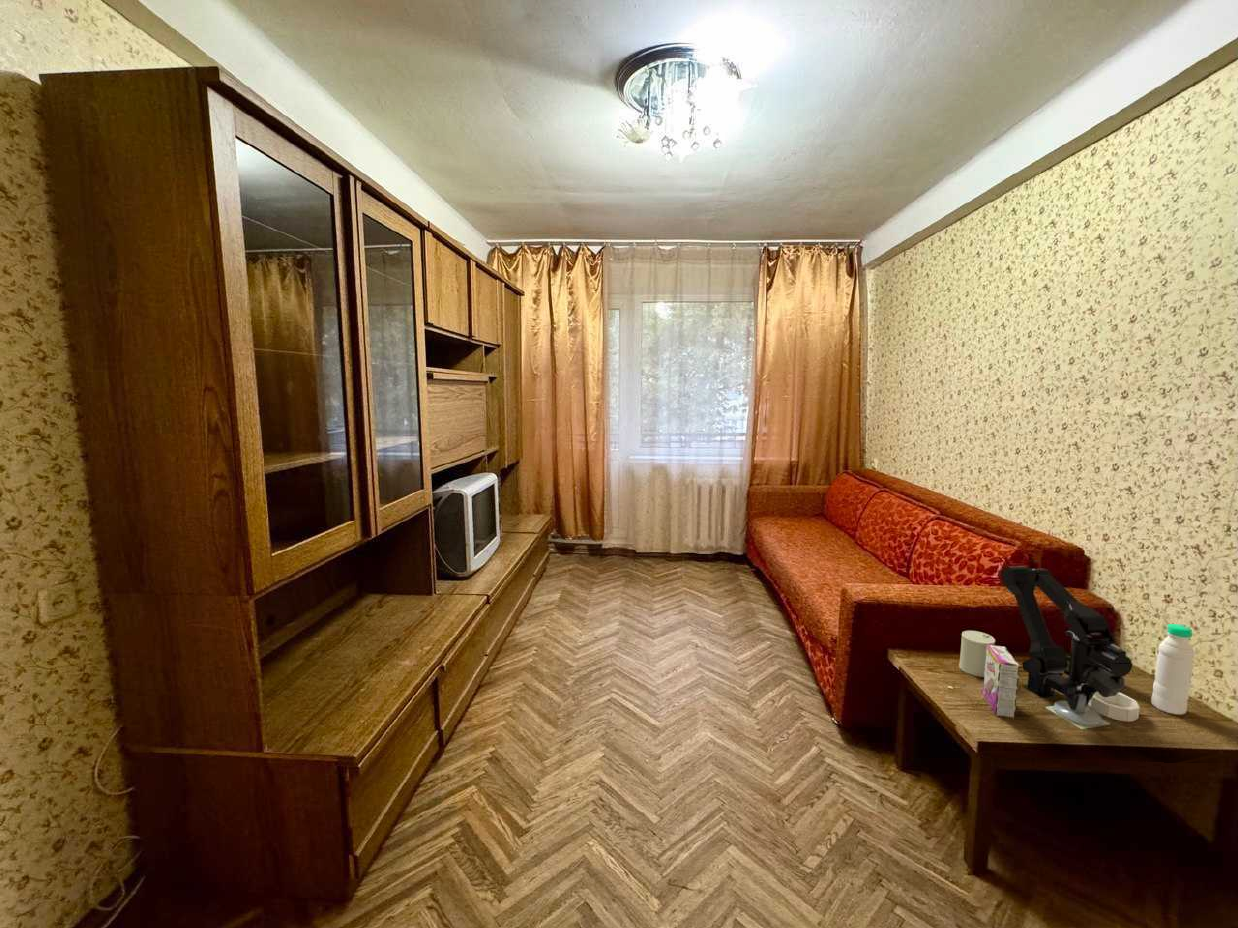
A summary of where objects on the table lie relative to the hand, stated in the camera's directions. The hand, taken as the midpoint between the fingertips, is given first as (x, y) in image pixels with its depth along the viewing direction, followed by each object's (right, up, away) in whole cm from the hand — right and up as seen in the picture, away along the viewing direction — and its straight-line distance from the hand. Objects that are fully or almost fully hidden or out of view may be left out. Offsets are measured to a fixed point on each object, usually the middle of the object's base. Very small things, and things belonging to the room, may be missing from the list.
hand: (1077, 708), depth 146 cm
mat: (0, -2, 0) cm, 2 cm away
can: (-11, +1, +25) cm, 28 cm away
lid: (0, -2, 0) cm, 2 cm away
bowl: (+12, -2, +2) cm, 12 cm away
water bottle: (+29, -2, +3) cm, 29 cm away
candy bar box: (-18, -2, +6) cm, 19 cm away
